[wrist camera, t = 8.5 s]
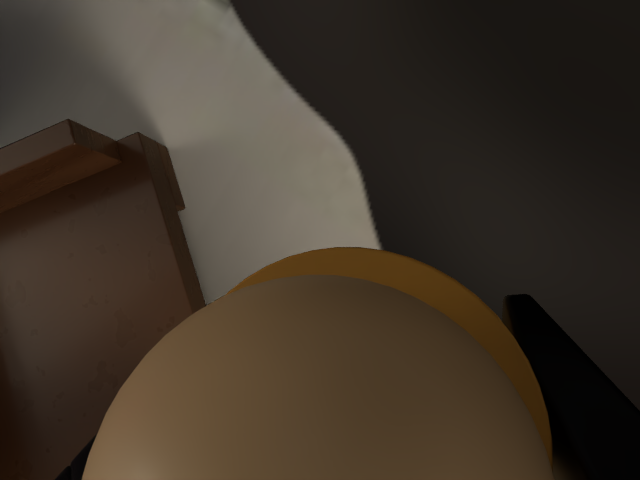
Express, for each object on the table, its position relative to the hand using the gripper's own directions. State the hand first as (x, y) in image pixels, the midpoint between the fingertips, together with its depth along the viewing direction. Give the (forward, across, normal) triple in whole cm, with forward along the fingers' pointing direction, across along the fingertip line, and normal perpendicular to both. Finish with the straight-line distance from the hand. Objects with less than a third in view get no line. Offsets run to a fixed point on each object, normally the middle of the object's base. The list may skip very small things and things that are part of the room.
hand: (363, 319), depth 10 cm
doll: (+3, 0, +5) cm, 5 cm away
